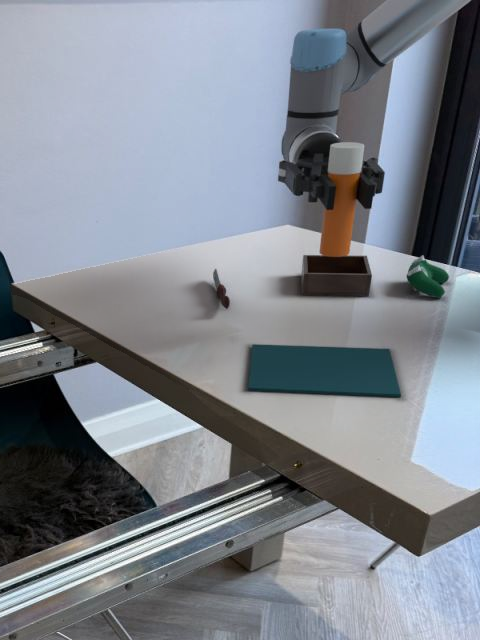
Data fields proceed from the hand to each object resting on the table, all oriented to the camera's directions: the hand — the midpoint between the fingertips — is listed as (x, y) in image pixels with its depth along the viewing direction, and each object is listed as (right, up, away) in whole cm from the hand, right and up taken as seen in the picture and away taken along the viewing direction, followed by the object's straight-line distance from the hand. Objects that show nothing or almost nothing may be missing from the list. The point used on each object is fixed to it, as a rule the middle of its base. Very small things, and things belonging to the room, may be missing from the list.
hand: (350, 197), depth 94 cm
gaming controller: (+22, -3, +30) cm, 38 cm away
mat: (-2, -19, +7) cm, 21 cm away
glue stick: (+1, -4, +9) cm, 10 cm away
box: (+8, -1, +34) cm, 35 cm away
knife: (-11, -3, +32) cm, 34 cm away
